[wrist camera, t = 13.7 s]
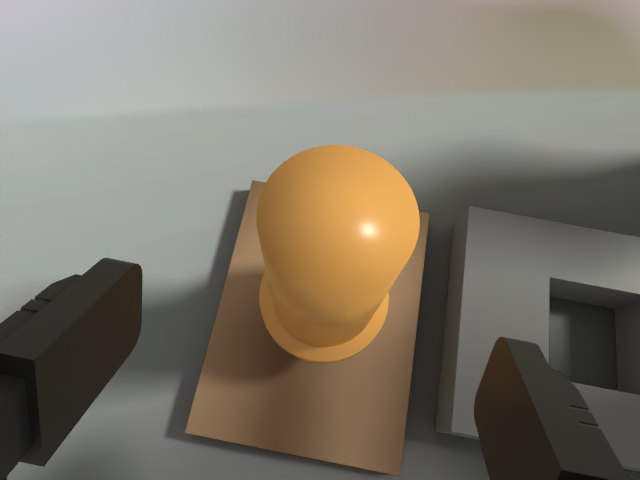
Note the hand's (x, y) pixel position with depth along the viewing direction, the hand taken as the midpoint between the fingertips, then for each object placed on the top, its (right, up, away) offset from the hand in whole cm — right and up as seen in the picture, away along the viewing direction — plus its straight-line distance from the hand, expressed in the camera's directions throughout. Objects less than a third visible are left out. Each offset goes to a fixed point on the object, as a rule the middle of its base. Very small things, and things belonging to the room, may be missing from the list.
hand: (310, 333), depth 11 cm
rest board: (0, -2, +12) cm, 12 cm away
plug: (0, -1, +11) cm, 11 cm away
